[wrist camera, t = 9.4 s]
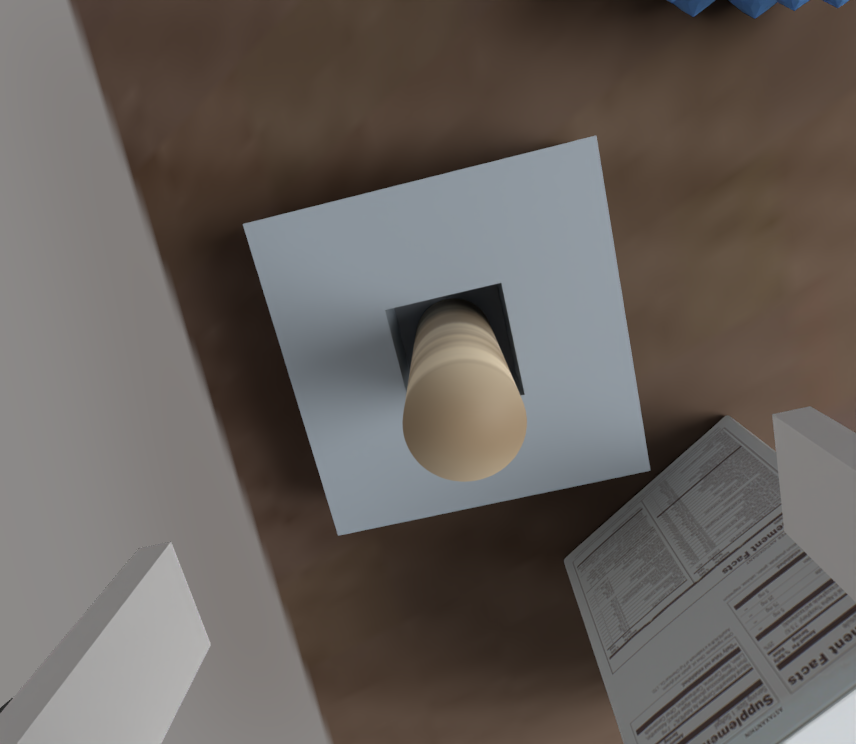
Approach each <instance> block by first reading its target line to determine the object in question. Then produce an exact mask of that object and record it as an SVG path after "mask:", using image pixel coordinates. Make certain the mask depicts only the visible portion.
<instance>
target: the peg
mask: <svg viewBox="0 0 856 744" xmlns="http://www.w3.org/2000/svg"><path fill="white" fill-rule="evenodd" d="M402 424H403V434H404V438H405V441H406V444H407V446H408V448H409V450H410V452H411V454H412V455H413V457H414V458H415V459H416V460H417V462H418V463H419V464H420V465H421V466H423V467H424V468H425V469H426V470H428V471H429V472H431V473H433V474H435V475H437V476H439V477H441V478H444V479H447V480H452V481H460V482H468V481H476V480H481V479H484V478H487V477H489V476H492V475H494V474H496V473H497V472H499V471H501V470H502V469H503V468H505V467H506V466H507V465H508V464H509V463H510V462H511V461H512V460H513V459H514V458H515V456H516V455H517V453H518V452H519V450H520V448H521V446H522V444H523V442H524V438H525V435H526V429H527V416H526V410H525V406H524V403H523V400H522V398H521V396H520V393H519V391H518V389H517V386H516V384H515V382H514V379H513V377H512V375H511V372H510V370H509V368H508V365H507V363H506V361H505V358H504V356H503V354H502V351H501V349H500V347H499V344H498V342H497V340H496V337H495V335H494V333H493V330H492V328H491V326H490V323H489V321H488V319H487V317H486V315H485V314H484V313H483V311H482V310H481V309H480V308H479V307H477V306H476V305H475V304H473V303H471V302H469V301H466V300H463V299H457V298H451V299H445V300H441V301H439V302H437V303H435V304H433V305H432V306H430V307H429V308H428V309H427V310H426V311H425V312H424V313H423V315H422V316H421V318H420V320H419V322H418V325H417V329H416V336H415V342H414V348H413V355H412V361H411V367H410V374H409V380H408V386H407V393H406V399H405V406H404V412H403V421H402Z"/></svg>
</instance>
